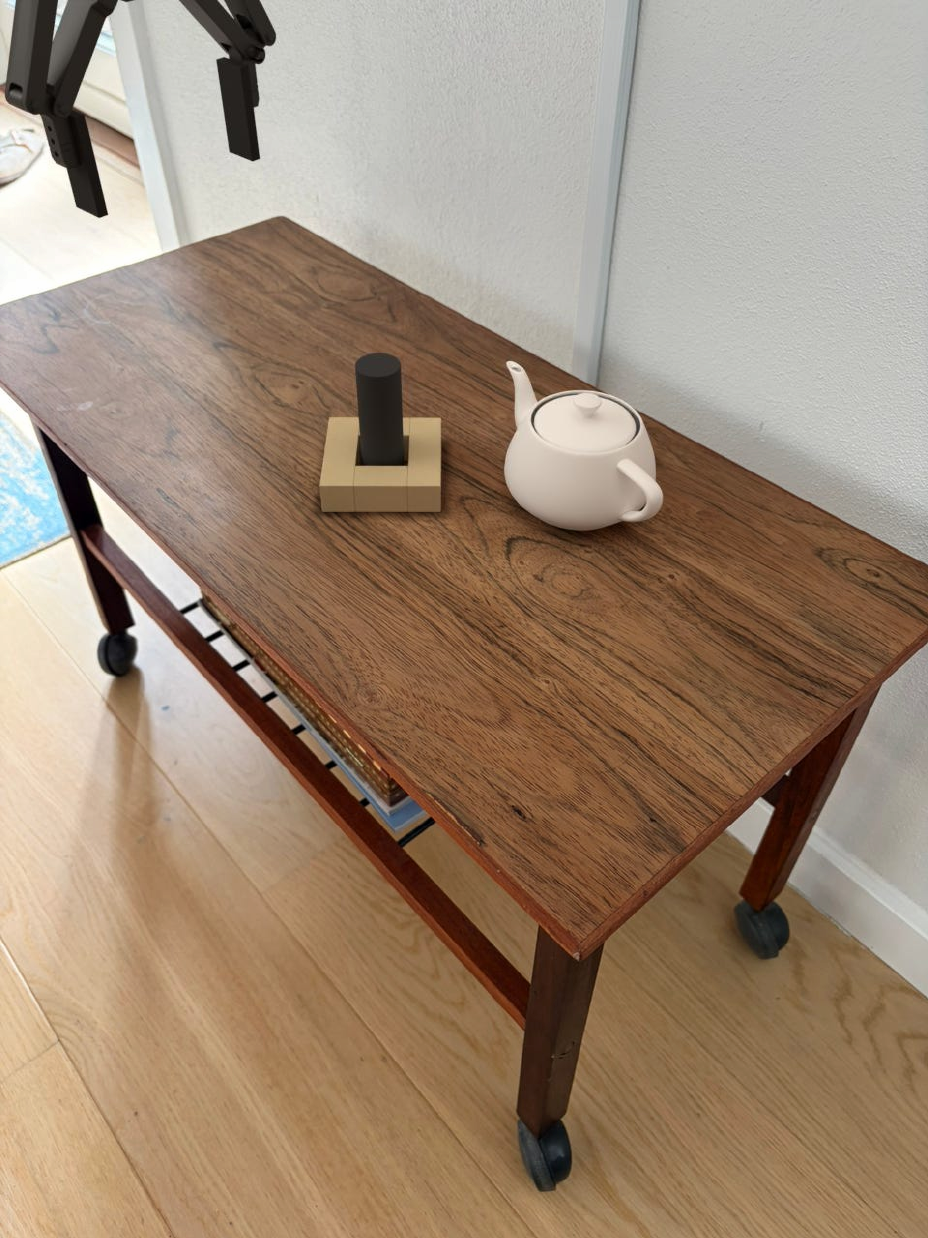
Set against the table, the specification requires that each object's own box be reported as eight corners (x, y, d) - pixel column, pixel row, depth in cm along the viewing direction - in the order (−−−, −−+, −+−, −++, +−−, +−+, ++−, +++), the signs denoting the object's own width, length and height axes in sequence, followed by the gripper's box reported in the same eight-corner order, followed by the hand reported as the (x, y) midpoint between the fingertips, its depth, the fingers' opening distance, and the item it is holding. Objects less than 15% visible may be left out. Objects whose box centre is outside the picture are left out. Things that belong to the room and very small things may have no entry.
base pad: (322, 511, 93) (319, 485, 91) (331, 442, 100) (329, 416, 98) (440, 512, 93) (440, 485, 91) (441, 442, 101) (441, 417, 99)
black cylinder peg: (371, 493, 95) (364, 380, 86) (356, 469, 97) (348, 358, 89) (411, 482, 96) (408, 370, 88) (395, 459, 99) (390, 348, 90)
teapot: (707, 533, 91) (730, 432, 84) (586, 589, 86) (600, 487, 78) (559, 415, 104) (568, 319, 97) (446, 458, 99) (446, 359, 91)
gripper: (-67, -156, 51) (50, 254, 66) (306, -202, 64) (333, 147, 79) (-139, -173, 54) (-12, 220, 69) (229, -214, 68) (269, 123, 83)
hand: (172, 182), depth 74 cm, fingers open, 13 cm apart
